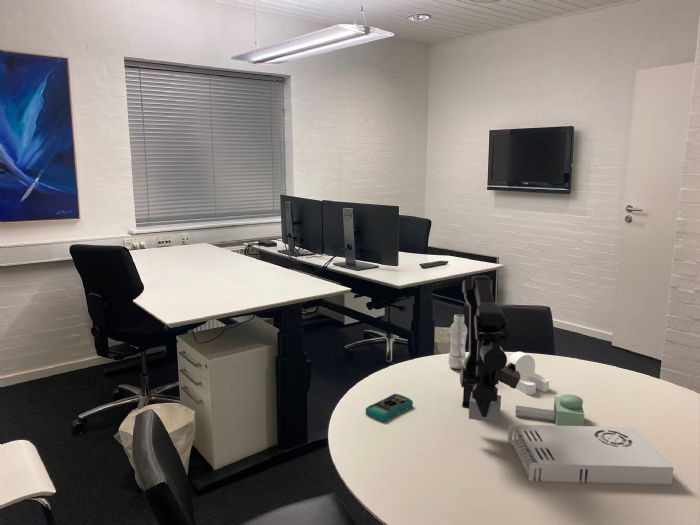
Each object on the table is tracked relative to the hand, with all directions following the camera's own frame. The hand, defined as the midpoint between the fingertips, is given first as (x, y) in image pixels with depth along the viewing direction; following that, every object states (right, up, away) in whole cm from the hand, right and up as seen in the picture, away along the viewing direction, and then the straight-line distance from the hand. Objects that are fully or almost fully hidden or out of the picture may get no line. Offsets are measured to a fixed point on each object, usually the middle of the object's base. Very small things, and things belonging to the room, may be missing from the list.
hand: (484, 411), depth 140 cm
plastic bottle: (+3, +1, +50) cm, 50 cm away
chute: (0, -1, 0) cm, 1 cm away
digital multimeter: (-25, -5, +16) cm, 30 cm away
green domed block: (+21, -5, +11) cm, 25 cm away
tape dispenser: (+22, -1, +37) cm, 43 cm away
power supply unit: (+22, -10, -10) cm, 26 cm away
